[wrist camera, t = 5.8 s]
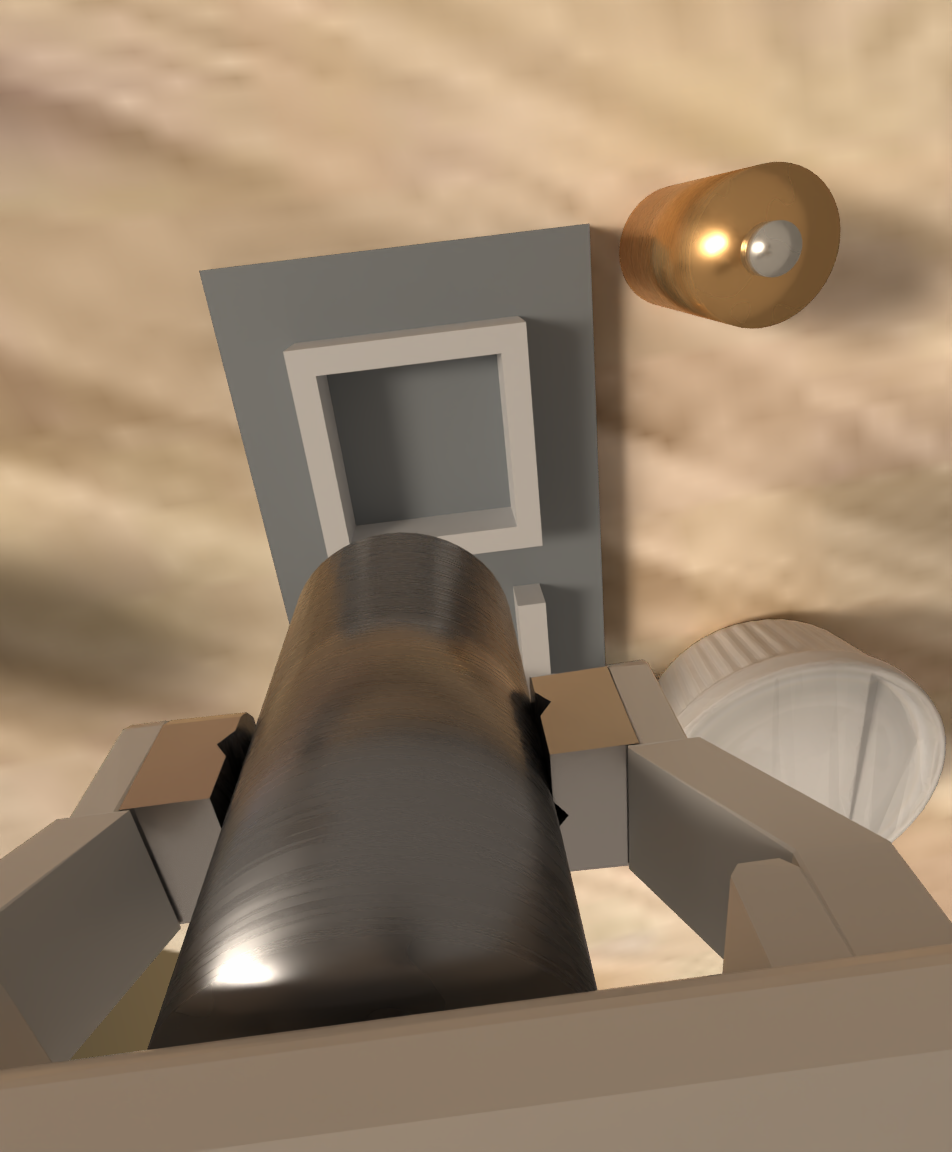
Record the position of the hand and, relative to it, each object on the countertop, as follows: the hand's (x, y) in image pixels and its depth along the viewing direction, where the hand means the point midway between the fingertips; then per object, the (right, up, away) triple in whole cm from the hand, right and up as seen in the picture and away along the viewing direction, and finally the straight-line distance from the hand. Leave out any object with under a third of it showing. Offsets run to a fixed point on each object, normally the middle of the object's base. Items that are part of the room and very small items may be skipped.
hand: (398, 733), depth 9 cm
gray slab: (0, +3, +18) cm, 18 cm away
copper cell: (+7, +13, +14) cm, 20 cm away
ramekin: (+13, -4, +22) cm, 26 cm away
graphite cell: (0, +1, +2) cm, 3 cm away
